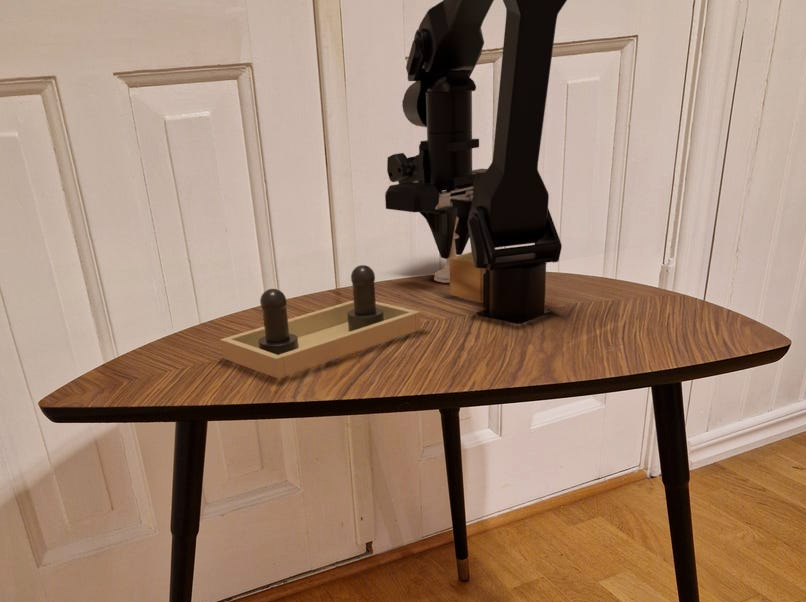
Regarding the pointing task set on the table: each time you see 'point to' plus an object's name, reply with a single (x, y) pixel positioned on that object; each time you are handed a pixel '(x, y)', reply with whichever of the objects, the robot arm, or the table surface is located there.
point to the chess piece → (447, 260)
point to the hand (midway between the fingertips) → (451, 256)
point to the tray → (319, 339)
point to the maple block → (466, 277)
